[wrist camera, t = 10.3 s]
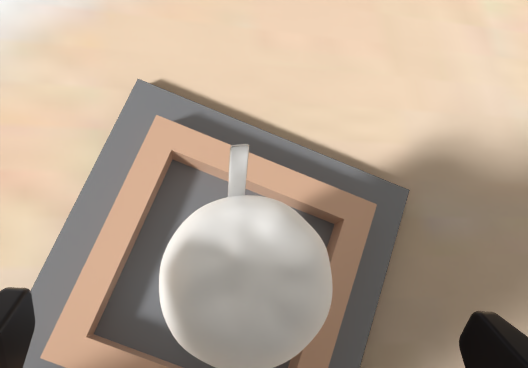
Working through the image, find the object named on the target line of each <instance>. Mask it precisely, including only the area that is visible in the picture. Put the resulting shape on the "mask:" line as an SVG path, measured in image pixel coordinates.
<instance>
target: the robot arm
mask: <svg viewBox="0 0 528 368" xmlns="http://www.w3.org/2000/svg"><path fill="white" fill-rule="evenodd" d="M34 329H35V314H34V307H33V300H32V294H31V292H30V290H29V289H27V288H11V287H8V288H5V289H3V290H1V291H0V368H23V366H24V362H25V359H26V356H27V353H28V349H29V346H30V343H31V340H32V336H33V333H34ZM459 346H460V351H461V354H462V358H463V361H464V365H465V368H528V337H527V336H526V335H525V334H523V333H522V332H520V331H519V330H518V329H516V328H515V327H514V326H512V325H511V324H510V323H508V322H507V321H506V320H504V319H503V318H502V317H500V316H499V315H497V314H496V313H494V312H484V311H476V312H474V313H473V314H472V315H471V317H470V319H469V321H468V322H467V324H466V326H465V328H464V330H463V332H462V334H461V336H460V340H459Z"/></svg>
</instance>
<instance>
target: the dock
mask: <svg viewBox="0 0 528 368" xmlns="http://www.w3.org/2000/svg"><path fill="white" fill-rule="evenodd" d="M239 144H249V157H248V167H247V178H246V189H245V195H254V196H263V197H268V198H272V199H275V200H278V201H280V202H282V203H285V204H286V205H288V206H290V207H291V208H292V209H294V210H295V211H296V212H297V213H299V214H300V215H301V216H302V217H303V218H304V219H305V220H306V221H307V222H308V223H309V224H310V225H311V226H312V227H313V229H314V230H315V231H316V232H317V233H318V235H319V236H320V237H321V239H322V241H323V242H324V244H325V247H326V249H327V252H328V256H329V261H330V267H331V274H332V288H333V289H332V301H331V306H330V310H329V313H328V316H327V318H326V320H325V322H324V324H323V326H322V328H321V329H320V331H319V332H318V333H317V335H316V336H315V337H314V338H313V340H312V341H311V342H310V343H309V344H308V345H307V346H306V347H305V348H304V349H303V350H302V351H301V352H300V353H298V354H297V355H296V356H295V357H293V358H292V359H290V360H288V361H287V362H285V363H283V364H281V365H279V366H276V367H273V368H360V365H361V361H362V357H363V354H364V350H365V347H366V343H367V340H368V336H369V332H370V329H371V325H372V322H373V318H374V315H375V311H376V307H377V304H378V300H379V297H380V293H381V290H382V286H383V282H384V279H385V275H386V272H387V268H388V265H389V261H390V257H391V254H392V250H393V247H394V243H395V240H396V236H397V232H398V229H399V225H400V222H401V218H402V215H403V211H404V208H405V204H406V200H407V197H408V193H409V190H408V189H406V188H403V187H401V186H398V185H396V184H393V183H391V182H388V181H386V180H384V179H381V178H379V177H376V176H374V175H371V174H369V173H367V172H364V171H362V170H359V169H357V168H354V167H352V166H349V165H347V164H345V163H342V162H340V161H337V160H335V159H332V158H330V157H328V156H325V155H323V154H320V153H318V152H315V151H313V150H310V149H308V148H306V147H303V146H301V145H298V144H296V143H293V142H291V141H289V140H286V139H284V138H281V137H279V136H276V135H274V134H271V133H269V132H267V131H264V130H262V129H259V128H257V127H254V126H252V125H250V124H247V123H245V122H242V121H240V120H237V119H235V118H233V117H230V116H228V115H225V114H223V113H220V112H218V111H215V110H213V109H211V108H208V107H206V106H203V105H201V104H198V103H196V102H194V101H191V100H189V99H186V98H184V97H181V96H179V95H176V94H174V93H172V92H169V91H167V90H164V89H162V88H159V87H157V86H155V85H152V84H150V83H147V82H145V81H142V80H140V79H138V80H137V82H136V84H135V86H134V87H133V89H132V91H131V93H130V95H129V97H128V99H127V101H126V103H125V105H124V107H123V109H122V111H121V113H120V115H119V117H118V119H117V121H116V123H115V125H114V127H113V129H112V131H111V133H110V135H109V137H108V139H107V141H106V143H105V145H104V147H103V149H102V151H101V153H100V155H99V157H98V159H97V161H96V163H95V165H94V167H93V169H92V171H91V173H90V175H89V177H88V178H87V180H86V182H85V184H84V186H83V188H82V190H81V192H80V194H79V196H78V198H77V200H76V202H75V204H74V206H73V208H72V210H71V212H70V214H69V216H68V218H67V220H66V222H65V224H64V226H63V228H62V230H61V232H60V234H59V236H58V238H57V240H56V242H55V244H54V246H53V248H52V250H51V252H50V254H49V256H48V258H47V260H46V262H45V264H44V266H43V268H42V269H41V271H40V273H39V275H38V277H37V279H36V281H35V283H34V285H33V287H32V289H31V291H30V292H31V294H32V300H33V307H34V314H35V329H34V333H33V336H32V340H31V343H30V346H29V349H28V353H27V356H26V359H25V362H24V366H23V368H215V367H213V366H211V365H209V364H207V363H205V362H203V361H201V360H199V359H198V358H196V357H194V356H193V355H191V354H190V353H189V352H187V351H186V350H185V349H184V348H183V347H182V346H181V345H180V344H179V343H178V342H177V340H176V339H175V338H174V336H173V335H172V333H171V331H170V329H169V327H168V325H167V323H166V321H165V318H164V316H163V313H162V309H161V304H160V297H159V273H160V266H161V261H162V258H163V255H164V252H165V250H166V247H167V245H168V243H169V241H170V240H171V238H172V236H173V235H174V233H175V232H176V230H177V229H178V228H179V226H180V225H181V224H182V223H183V222H184V221H185V220H186V219H187V218H188V217H189V216H190V215H191V214H192V213H194V212H195V211H196V210H198V209H199V208H201V207H202V206H204V205H206V204H208V203H211V202H213V201H216V200H219V199H222V198H226V197H228V178H229V156H230V147H231V146H232V145H239Z"/></svg>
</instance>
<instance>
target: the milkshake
mask: <svg viewBox="0 0 528 368" xmlns="http://www.w3.org/2000/svg"><path fill="white" fill-rule="evenodd" d="M248 157H249V144H239V145H232V146H231V147H230V156H229V178H228V197H226V198H222V199H219V200H216V201H213V202H211V203H208V204H206V205H204V206H202V207H201V208H199V209H198V210H196V211H195V212H194V213H192V214H191V215H190V216H189V217H188V218H187V219H186V220H185V221H184V222H183V223H182V224H181V225H180V226H179V228H178V229H177V230H176V232H175V233H174V235H173V236H172V238H171V240H170V241H169V243H168V245H167V247H166V250H165V252H164V255H163V258H162V261H161V266H160V273H159V297H160V304H161V309H162V313H163V316H164V318H165V321H166V323H167V325H168V327H169V329H170V331H171V333H172V335H173V336H174V338H175V339H176V340H177V342H178V343H179V344H180V345H181V346H182V347H183V348H184V349H185V350H186V351H187V352H189V353H190V354H191V355H193V356H194V357H196V358H198V359H199V360H201V361H203V362H205V363H207V364H209V365H211V366H213V367H215V368H273V367H276V366H279V365H281V364H283V363H285V362H287V361H288V360H290V359H292V358H293V357H295V356H296V355H297V354H298V353H300V352H301V351H302V350H303V349H304V348H305V347H306V346H307V345H308V344H309V343H310V342H311V341H312V340H313V338H314V337H315V336H316V335H317V333H318V332H319V331H320V329H321V328H322V326H323V324H324V322H325V320H326V318H327V316H328V313H329V310H330V306H331V301H332V289H333V288H332V274H331V267H330V261H329V256H328V252H327V249H326V247H325V244H324V242H323V241H322V239H321V237H320V236H319V235H318V233H317V232H316V231H315V230H314V229H313V227H312V226H311V225H310V224H309V223H308V222H307V221H306V220H305V219H304V218H303V217H302V216H301V215H300V214H299V213H297V212H296V211H295V210H294V209H292V208H291V207H290V206H288V205H286V204H285V203H282V202H280V201H278V200H275V199H272V198H268V197H263V196H254V195H245V189H246V178H247V167H248Z"/></svg>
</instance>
